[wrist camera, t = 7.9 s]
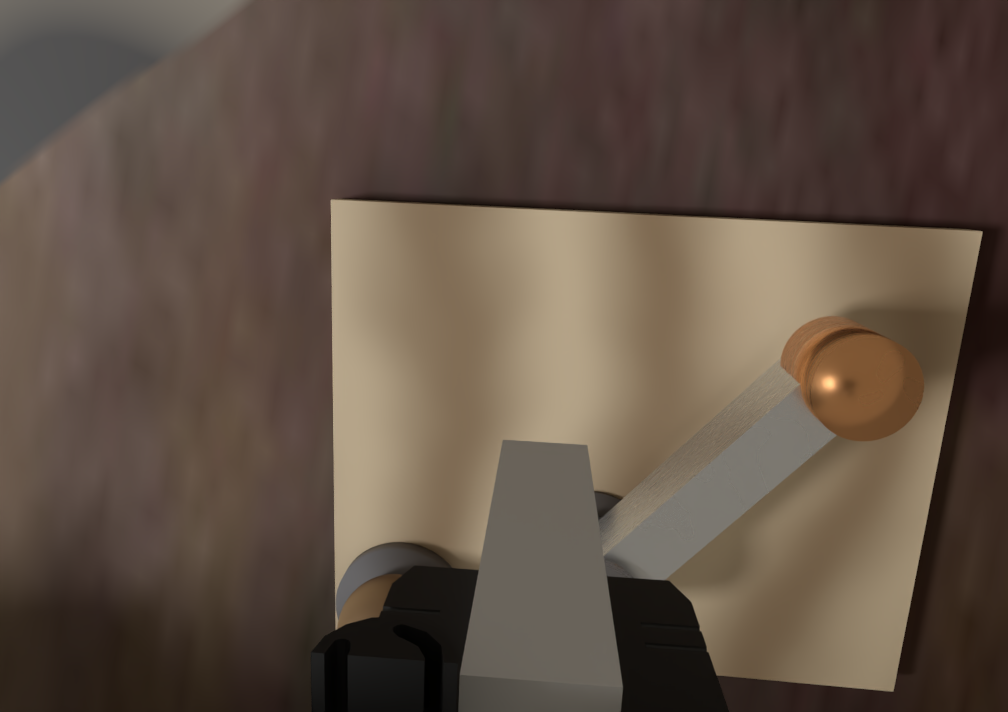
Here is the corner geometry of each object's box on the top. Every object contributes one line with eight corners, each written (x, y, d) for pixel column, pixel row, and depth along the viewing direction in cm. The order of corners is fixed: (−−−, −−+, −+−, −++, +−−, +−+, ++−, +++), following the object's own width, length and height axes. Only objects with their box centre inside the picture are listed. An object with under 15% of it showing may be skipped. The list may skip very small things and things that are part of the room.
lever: (464, 608, 26) (446, 681, 23) (819, 287, 23) (869, 309, 19) (529, 667, 27) (522, 748, 23) (889, 359, 23) (952, 395, 19)
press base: (343, 633, 29) (302, 717, 24) (339, 198, 25) (290, 203, 20) (880, 682, 27) (940, 781, 23) (965, 229, 23) (1058, 241, 19)
